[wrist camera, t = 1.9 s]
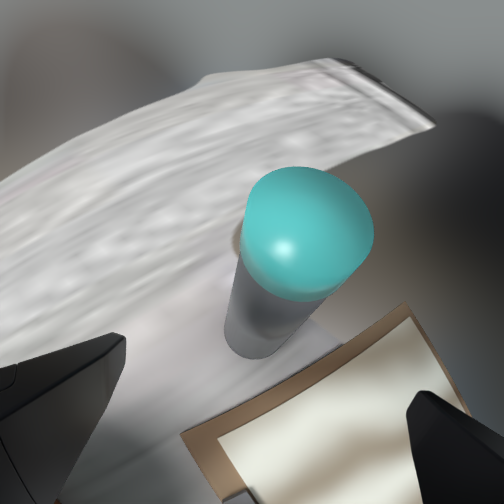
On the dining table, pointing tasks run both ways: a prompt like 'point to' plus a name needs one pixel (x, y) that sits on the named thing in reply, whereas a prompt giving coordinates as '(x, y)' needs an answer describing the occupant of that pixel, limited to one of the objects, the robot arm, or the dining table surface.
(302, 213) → the marker
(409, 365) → the clipboard
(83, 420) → the robot arm
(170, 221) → the dining table surface
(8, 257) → the dining table surface
